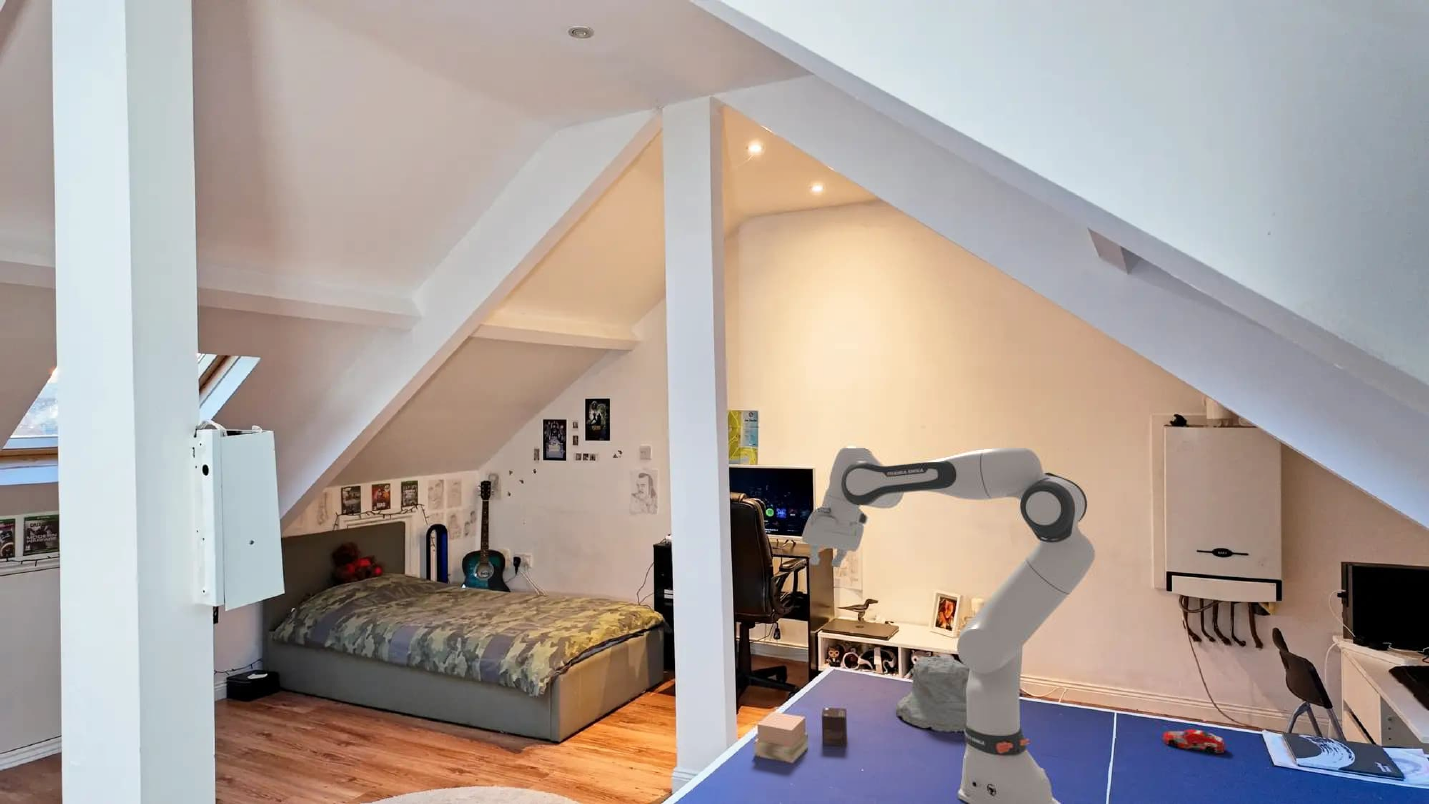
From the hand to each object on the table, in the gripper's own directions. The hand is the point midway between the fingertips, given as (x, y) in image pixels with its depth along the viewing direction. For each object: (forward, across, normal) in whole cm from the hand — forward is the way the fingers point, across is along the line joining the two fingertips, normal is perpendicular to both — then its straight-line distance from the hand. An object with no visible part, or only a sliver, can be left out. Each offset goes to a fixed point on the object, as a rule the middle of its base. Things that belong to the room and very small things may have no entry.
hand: (824, 565), depth 203 cm
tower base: (+48, +5, +1) cm, 48 cm away
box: (+43, +18, -5) cm, 47 cm away
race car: (+19, +69, -71) cm, 101 cm away
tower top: (+44, +4, +2) cm, 44 cm away
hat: (+34, +50, -17) cm, 62 cm away
